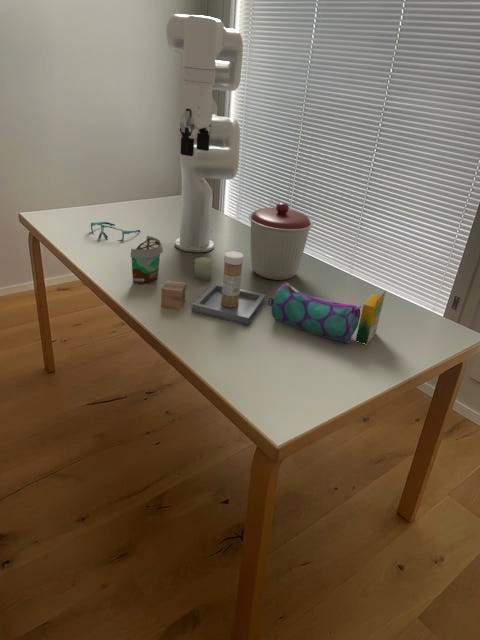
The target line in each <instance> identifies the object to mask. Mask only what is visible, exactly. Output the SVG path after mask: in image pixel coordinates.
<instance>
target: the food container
mask: <svg viewBox="0 0 480 640" xmlns="http://www.w3.org/2000/svg"><path fill="white" fill-rule="evenodd" d="M163 250H164V249H163V244H162V242H161V240H160V239H159V238H157V237H154V236H150V235H146V239H145V240H144V241H143V242H141V243H139V244H138V246H136V248H134V249H133V248H131V249H130V258H131V271H132V284H135V285H145V284H147V285H148V284H151V283H155V282H156V281H157V280H158V278H159V270H160V258H161V254H162V253H163V252H164V251H163Z"/></svg>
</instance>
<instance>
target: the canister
mask: <svg viewBox="0 0 480 640" xmlns="http://www.w3.org/2000/svg"><path fill="white" fill-rule="evenodd" d="M248 219H249V221H250V259H251V260H250V262H251V268H252V270H253V272H254V273H255V274H257V276H260V277H261V278H265V279H269V280H274V281H275V280H276V281H283V280H288V279H291V278H292V277H294V276H295V275H296V273H297V271H298V270H299V267H300V264H301V261H302V257H303V254H304V251H305V248H306V244H307V239H308V238H309V237H308V236H309V233H310V229H311V228H312V227H313V225H314V222H313V220H312V219H310V218H309V217H308V216H307V215H305V214H304V213H302V212H299V211H296V210H295V209H294V210H293V209H290V207H289V205H288V204H287V203H286V202H278V203H277V204H276V206H275V207H264V208H260V209H257V210H255V211H253V212H251V213H249V215H248Z"/></svg>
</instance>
